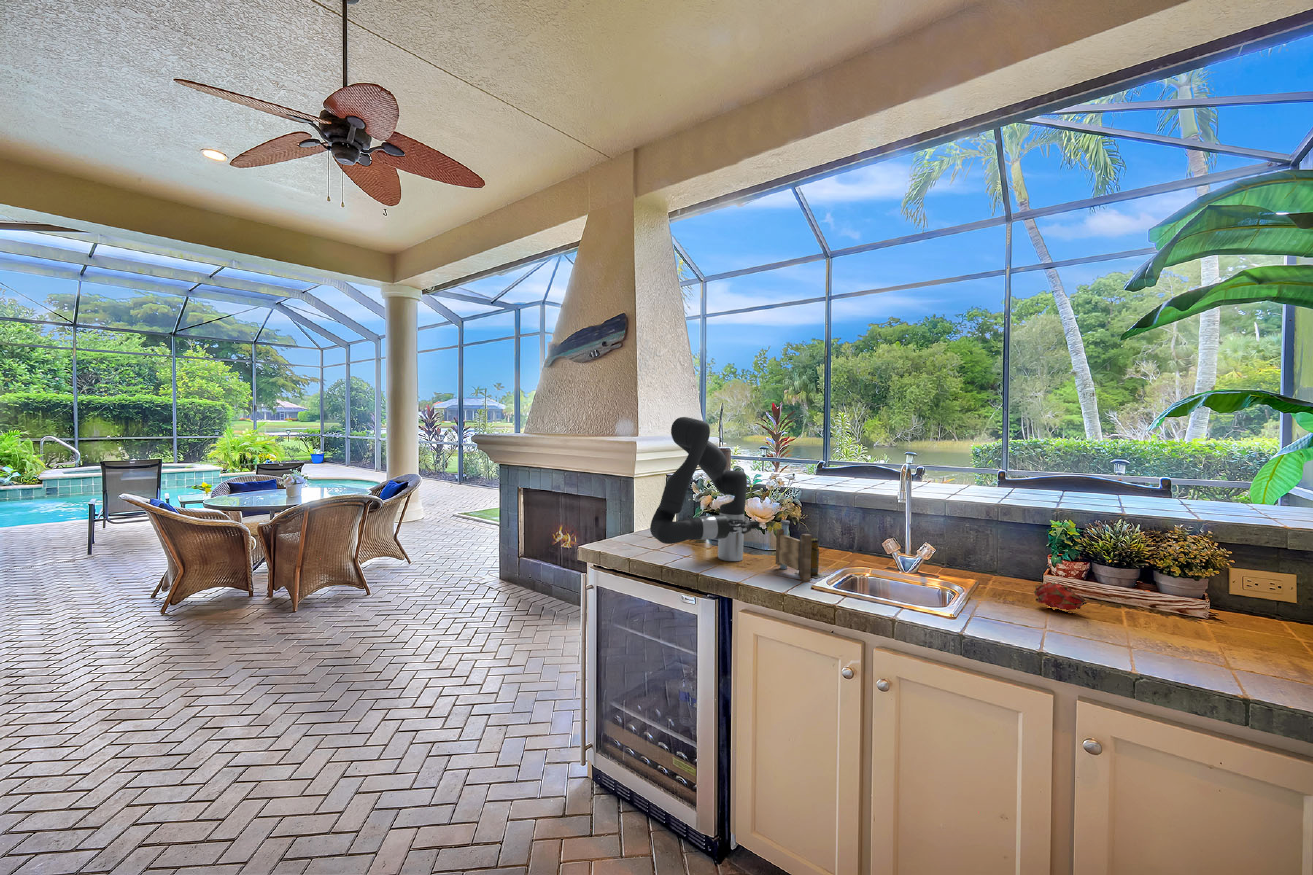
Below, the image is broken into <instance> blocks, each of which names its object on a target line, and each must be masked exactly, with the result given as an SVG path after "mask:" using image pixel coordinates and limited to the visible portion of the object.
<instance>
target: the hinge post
mask: <svg viewBox="0 0 1313 875" xmlns="http://www.w3.org/2000/svg"><path fill="white" fill-rule="evenodd" d="M800 536H801V556H800V576H799V581H802V582H804V583H805V582H806V583H807V582H811V577H810V576H811V549H812V538H813V535H812V534H809V533H801V534H800Z"/></svg>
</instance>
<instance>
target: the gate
mask: <svg viewBox="0 0 1313 875" xmlns="http://www.w3.org/2000/svg"><path fill="white" fill-rule="evenodd" d="M783 531H784V530H783V529H781V528H776V536H775V537H776V544H775V565H777V566H780V565H782V564H784V565H786V566H787V567H789V568H791V569H793V570H796V571H798V572H799V574H798V576H799V577H800V556H801V535H800V536H799V539H798V538H795V537H792V536H789V535H788V536H786V535H783Z"/></svg>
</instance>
